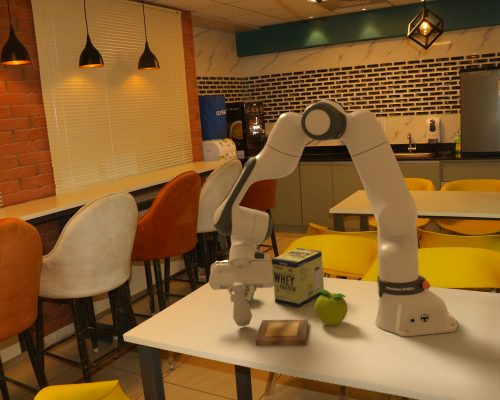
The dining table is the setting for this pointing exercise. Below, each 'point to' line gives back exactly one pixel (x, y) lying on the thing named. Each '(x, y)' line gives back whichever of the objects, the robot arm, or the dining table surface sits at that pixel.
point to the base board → (282, 332)
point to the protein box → (298, 277)
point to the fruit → (331, 308)
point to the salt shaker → (241, 305)
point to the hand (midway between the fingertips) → (240, 300)
